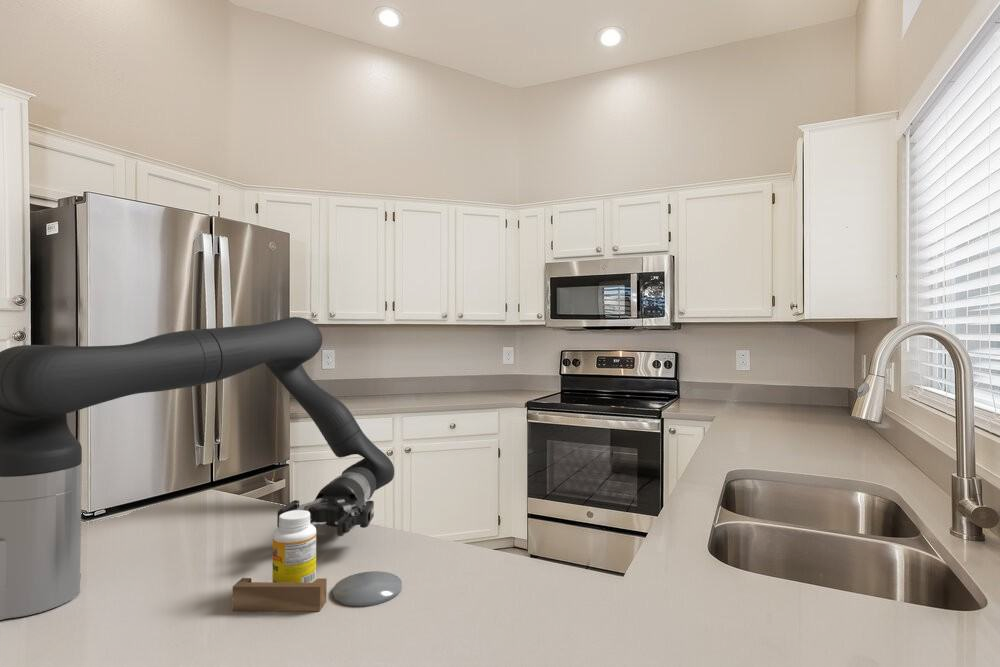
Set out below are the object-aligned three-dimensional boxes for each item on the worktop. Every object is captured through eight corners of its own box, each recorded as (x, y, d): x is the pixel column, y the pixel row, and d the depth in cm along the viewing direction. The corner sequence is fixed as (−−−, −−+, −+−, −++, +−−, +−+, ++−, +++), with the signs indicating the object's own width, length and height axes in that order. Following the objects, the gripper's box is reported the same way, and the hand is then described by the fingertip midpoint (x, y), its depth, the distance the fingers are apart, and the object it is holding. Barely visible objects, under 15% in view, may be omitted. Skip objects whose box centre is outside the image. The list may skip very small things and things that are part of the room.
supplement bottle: (274, 583, 74) (275, 509, 74) (316, 578, 76) (317, 506, 76) (269, 602, 69) (270, 522, 69) (315, 596, 70) (315, 518, 70)
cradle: (242, 601, 69) (242, 578, 69) (326, 601, 69) (326, 578, 69) (232, 610, 66) (232, 586, 67) (319, 611, 66) (320, 586, 66)
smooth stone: (362, 613, 66) (362, 608, 66) (319, 593, 71) (319, 588, 71) (415, 586, 73) (415, 582, 73) (372, 570, 78) (372, 566, 78)
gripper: (304, 476, 95) (263, 503, 78) (384, 476, 95) (359, 504, 78) (304, 518, 95) (262, 554, 78) (384, 519, 94) (358, 555, 78)
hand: (310, 529), depth 78 cm, fingers open, 8 cm apart
